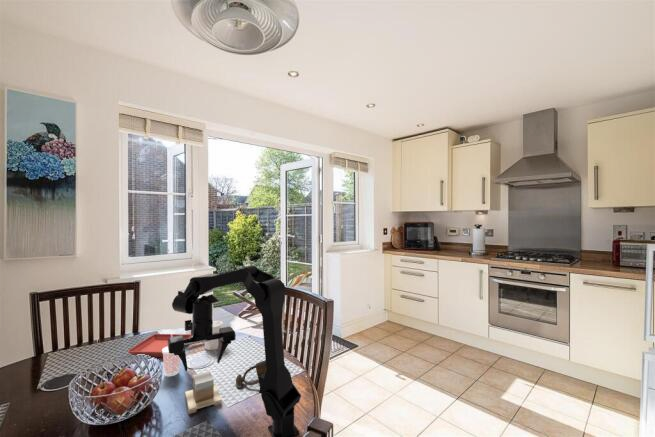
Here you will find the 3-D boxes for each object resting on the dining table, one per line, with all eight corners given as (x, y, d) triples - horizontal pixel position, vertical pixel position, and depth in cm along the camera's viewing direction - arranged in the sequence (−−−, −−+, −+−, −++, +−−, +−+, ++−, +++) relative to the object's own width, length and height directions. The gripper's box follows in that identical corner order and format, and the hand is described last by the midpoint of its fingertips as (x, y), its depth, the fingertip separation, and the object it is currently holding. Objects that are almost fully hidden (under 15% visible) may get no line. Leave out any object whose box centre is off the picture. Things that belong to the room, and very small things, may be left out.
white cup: (202, 344, 133) (202, 322, 132) (221, 341, 136) (221, 319, 136) (203, 352, 125) (203, 328, 125) (223, 348, 129) (223, 325, 129)
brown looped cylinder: (271, 376, 98) (278, 355, 107) (232, 370, 98) (243, 350, 108) (270, 394, 99) (277, 372, 109) (232, 389, 100) (243, 367, 110)
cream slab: (221, 404, 91) (221, 399, 91) (189, 414, 86) (189, 409, 86) (215, 388, 100) (215, 383, 100) (185, 396, 95) (185, 391, 95)
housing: (213, 398, 92) (213, 379, 92) (195, 403, 89) (195, 384, 89) (209, 388, 97) (209, 370, 97) (193, 393, 94) (192, 375, 94)
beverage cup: (158, 377, 106) (158, 338, 106) (167, 368, 112) (167, 331, 112) (176, 377, 106) (176, 337, 106) (184, 368, 112) (184, 331, 112)
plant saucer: (154, 340, 138) (154, 333, 138) (193, 341, 137) (193, 333, 137) (126, 359, 120) (126, 351, 120) (171, 360, 119) (171, 352, 119)
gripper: (227, 304, 104) (227, 349, 105) (166, 313, 95) (166, 362, 95) (236, 314, 95) (235, 363, 95) (169, 325, 85) (169, 379, 85)
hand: (202, 366), depth 93 cm, fingers open, 9 cm apart
